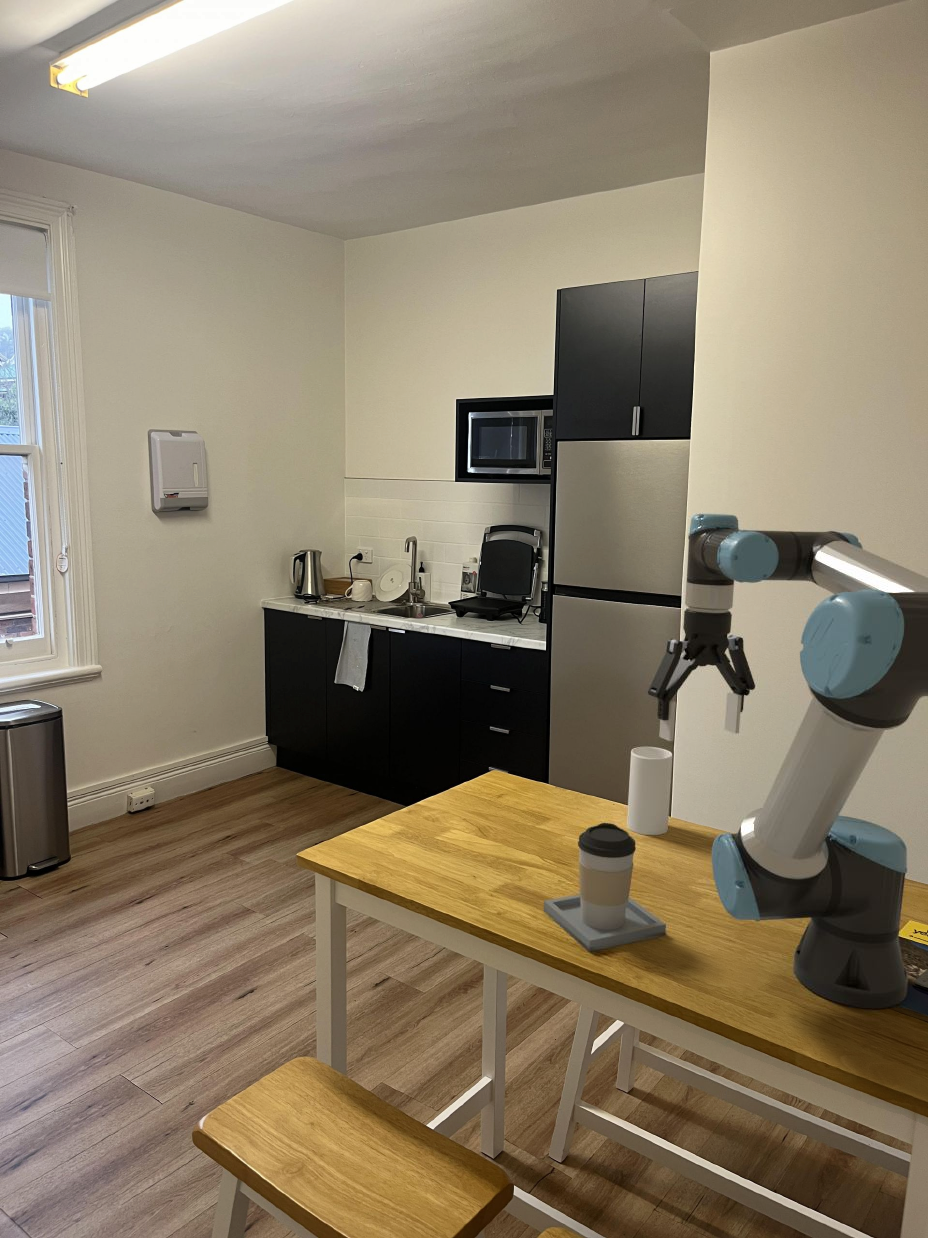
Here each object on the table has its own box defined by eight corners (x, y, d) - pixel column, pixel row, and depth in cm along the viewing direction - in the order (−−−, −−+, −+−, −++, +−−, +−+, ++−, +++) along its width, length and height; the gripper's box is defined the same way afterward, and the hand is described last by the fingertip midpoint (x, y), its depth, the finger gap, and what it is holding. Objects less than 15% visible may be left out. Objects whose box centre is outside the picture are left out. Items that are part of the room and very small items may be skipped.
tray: (665, 935, 143) (666, 924, 143) (588, 952, 137) (589, 940, 137) (615, 897, 156) (615, 887, 155) (543, 911, 150) (544, 900, 150)
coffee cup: (630, 937, 141) (636, 845, 138) (571, 929, 143) (576, 838, 140) (631, 910, 150) (636, 823, 147) (576, 903, 151) (580, 817, 149)
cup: (671, 836, 183) (676, 759, 181) (630, 834, 183) (634, 758, 181) (663, 820, 191) (667, 747, 189) (623, 819, 191) (628, 746, 189)
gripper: (751, 603, 157) (742, 722, 160) (631, 608, 147) (624, 735, 150) (783, 609, 150) (773, 734, 154) (659, 615, 140) (651, 748, 143)
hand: (699, 735), depth 152 cm, fingers open, 13 cm apart
